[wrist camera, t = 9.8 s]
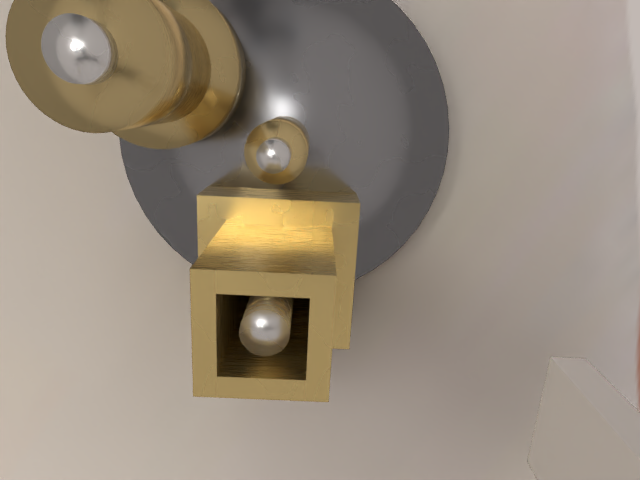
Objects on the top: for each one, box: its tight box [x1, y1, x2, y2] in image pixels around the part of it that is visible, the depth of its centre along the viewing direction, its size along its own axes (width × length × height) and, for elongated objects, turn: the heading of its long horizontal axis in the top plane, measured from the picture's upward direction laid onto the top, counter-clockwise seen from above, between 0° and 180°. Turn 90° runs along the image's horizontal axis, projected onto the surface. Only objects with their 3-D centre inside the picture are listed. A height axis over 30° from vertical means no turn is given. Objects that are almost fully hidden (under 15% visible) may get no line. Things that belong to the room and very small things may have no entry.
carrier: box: [6, 0, 449, 356], centre depth 16 cm, size 13×14×9 cm
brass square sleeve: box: [190, 186, 360, 402], centre depth 17 cm, size 6×6×7 cm
